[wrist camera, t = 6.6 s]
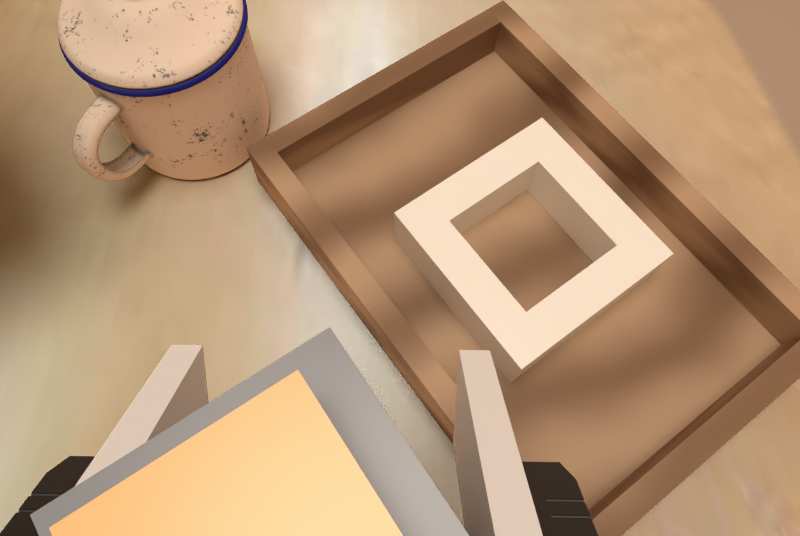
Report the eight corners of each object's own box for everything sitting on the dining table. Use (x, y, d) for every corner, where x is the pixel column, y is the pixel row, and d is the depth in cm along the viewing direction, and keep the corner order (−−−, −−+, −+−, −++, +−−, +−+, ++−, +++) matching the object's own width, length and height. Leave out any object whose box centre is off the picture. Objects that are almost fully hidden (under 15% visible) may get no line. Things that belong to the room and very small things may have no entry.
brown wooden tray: (258, 180, 38) (246, 147, 34) (494, 41, 42) (503, 0, 39) (550, 575, 30) (570, 580, 27) (802, 354, 34) (846, 336, 31)
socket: (393, 237, 35) (394, 212, 32) (530, 147, 38) (542, 117, 35) (509, 383, 32) (521, 369, 29) (650, 275, 35) (673, 253, 32)
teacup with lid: (183, 41, 41) (111, -131, 31) (303, 97, 40) (271, -63, 29) (62, 183, 37) (-71, 42, 27) (190, 251, 36) (105, 131, 25)
